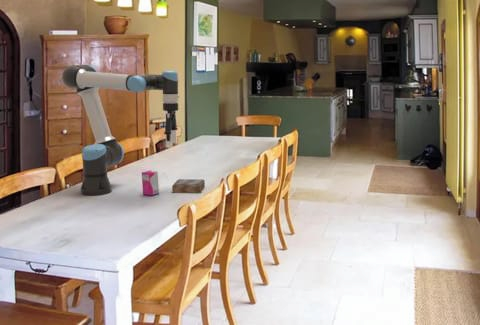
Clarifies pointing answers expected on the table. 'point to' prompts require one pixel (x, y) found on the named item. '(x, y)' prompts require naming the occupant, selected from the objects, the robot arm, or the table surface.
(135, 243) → the table surface
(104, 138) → the robot arm
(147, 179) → the supplement box
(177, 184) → the walnut stand
